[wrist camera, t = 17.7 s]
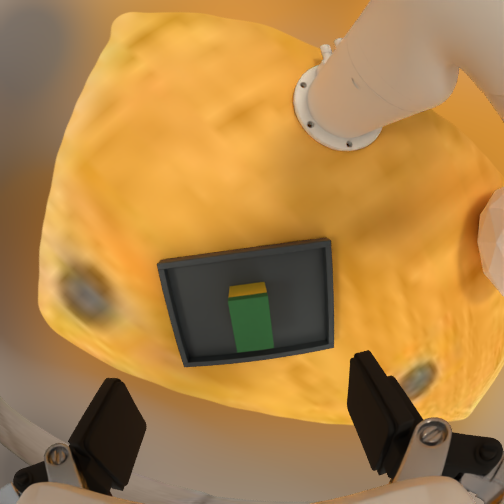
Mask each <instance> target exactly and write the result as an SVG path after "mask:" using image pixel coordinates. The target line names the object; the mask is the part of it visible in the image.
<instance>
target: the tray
mask: <svg viewBox="0 0 504 504" xmlns="http://www.w3.org/2000/svg"><path fill="white" fill-rule="evenodd" d="M157 267H158V272H159V276H160V281H161V285H162V289H163V293H164V297H165V301H166V305H167V309H168V313H169V317H170V321H171V324H172V328H173V332H174V335H175V339H176V342H177V345H178V349H179V352H180V355H181V359H182V362H183V365H184V367H196V366H211V365H222V364H233V363H242V362H251V361H259V360H266V359H273V358H280V357H286V356H292V355H298V354H304V353H309V352H315V351H320V350H325V349H330V348H334V294H333V268H332V251H331V240H329V239H328V238H326V237H325V238H317V239H310V240H302V241H295V242H287V243H280V244H272V245H265V246H258V247H250V248H243V249H236V250H228V251H221V252H214V253H207V254H199V255H192V256H185V257H178V258H171V259H164V260H161V261H160V262H159V263H157ZM259 282H265V286H266V290H267V294H268V300H269V309H270V317H271V325H272V334H273V342H274V348H270V349H263V350H256V351H248V352H239V353H237V348H236V343H235V338H234V333H233V327H232V322H231V316H230V311H229V305H228V297H229V288H230V286H236V285H244V284H251V283H259Z"/></svg>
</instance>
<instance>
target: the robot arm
mask: <svg viewBox="0 0 504 504" xmlns="http://www.w3.org/2000/svg"><path fill="white" fill-rule="evenodd" d="M334 44H335V47H336V49H335V50H334V52H333V53H332V51H331V47H330V45H321V46H320V49H321V53H322V55H323V60H322V62H321V63H320V65H317V66H314V67H313V68H311V69H309V70H308V71H306V72H305V73H304V74H303V75H302V77H301V78H300V79H299V81H298V83H297V85H296V87H295V91H294V97H293V104H294V109H295V113H296V116H297V118H298V120H299V122H300V124H301V125H302V127H303V128H304V130H305V131H306V132H307V133H308V134H309V135H310V136H311V137H312V138H313V139H315V140H316V141H317V142H319V143H320V144H322V145H324V146H326V147H329V148H331V149H334V150H339V151H353V150H358V149H361V148H364V147H366V146H367V145H369V144H371V143H372V142H373V141H374V140H375V139H376V138H377V137H378V135H379V134H380V132H381V130H382V127H383V126H386V125H388V124H391V123H393V122H396V121H398V120H401V119H404V118H406V117H409V116H412V115H414V114H417V113H420V112H423V111H426V110H428V109H431V108H434V107H436V106H438V105H440V104H442V103H443V102H444V101H445V100H447V99H448V98H449V96H450V95H451V94H452V92H453V90H454V88H455V85H456V83H457V78H458V74H459V68H461V69H462V70H463V71H464V72H465V73H466V74H467V75H468V76H469V77H470V78H471V80H472V81H473V82H474V83H475V84H476V85H477V87H478V88H479V89H480V90H481V91H482V92H483V93H484V94H485V96H486V97H487V99H488V100H489V101H490V103H491V104H492V106H493V107H494V109H495V110H496V111H497V113H498V114H499V116H500V117H501V119H502V120H503V122H504V0H370V2H369V3H368V5H367V6H366V8H365V9H364V10H363V12H362V13H361V15H360V16H359V18H358V19H357V21H356V22H355V23H354V24H353V26H352V27H351V28H350V30H349V31H348V32H347V34H346V35H345V36H344V38H338V39H336V40H334ZM301 86H303V87H304V88H302V87H301ZM308 124H310V125H311V127H308ZM346 143H347V144H348V145H349V146H348V147H347V145H346ZM347 408H348V411H349V414H350V416H351V419H352V421H353V423H354V426H355V428H356V431H357V433H358V436H359V438H360V440H361V443H362V445H363V448H364V450H365V453H366V455H367V458H368V461H369V463H370V466H371V468H372V470H374V471H375V470H377V472H378V474H379V475H382V474H384V473H387V475H388V477H389V478H391V480H390V482H389V484H387V485H383V486H380V487H377V488H373V489H370V490H366V491H362V492H359V493H355V494H352V495H348V496H344V497H340V498H335V499H331V500H326V501H321V502H316V503H311V504H476V503H475V501H474V500H473V498H472V497H471V495H470V494H469V493H468V491H471V492H473V493H475V494H476V497H478V498H480V499H481V500H483V501H484V504H504V451H503V448H502V445H501V443H500V442H499V441H498V440H496V439H494V438H489V437H481V436H473V435H465V434H459V433H453V432H452V429H451V426H450V425H449V423H448V422H447V421H445V420H443V419H441V418H427V419H425V420H423V419H422V417H421V416H420V414H419V413H418V411H417V410H416V408H415V407H414V405H413V404H412V402H411V401H410V399H409V398H408V396H407V395H406V393H405V392H404V390H403V389H402V387H401V386H400V384H399V383H398V382H397V380H396V379H395V378H394V377H393V376H388V377H387V376H386V374H385V373H384V371H383V370H382V368H381V367H380V365H379V364H378V362H377V361H376V359H375V358H374V356H373V355H372V353H371V352H370V351H369V350H367V351H364V352H360V353H356V354H355V355H354V358H351V359H350V373H349V387H348V398H347ZM145 431H146V422H145V420H144V419H143V417H142V415H141V414H140V412H139V410H138V408H137V407H136V405H135V403H134V401H133V399H132V397H131V395H130V393H129V392H128V390H127V388H126V386H125V384H124V383H123V382H121V380H120V379H117V378H106V379H105V381H104V382H103V384H102V385H101V387H100V388H99V390H98V392H97V393H96V395H95V396H94V398H93V400H92V402H91V403H90V405H89V407H88V408H87V410H86V411H85V413H84V415H83V416H82V418H81V420H80V421H79V423H78V425H77V427H76V428H75V430H74V432H73V434H72V435H71V437H70V439H69V441H68V442H69V443H70V445H69V447H68V446H67V445H65V444H63V443H57V444H54V445H51V446H50V447H49V448H48V449H47V450H46V452H45V454H44V461H43V462H40V463H37V464H35V465H32V466H29V467H26V468H23V469H21V470H19V471H18V472H17V473H16V474H15V476H14V479H13V482H14V484H13V483H12V482H10V483H8V484H7V485H5V486H4V487H2V488H1V489H0V504H143V503H138V502H133V501H128V500H124V499H120V498H116V497H113V496H112V494H111V492H110V489H111V488H113V489H117V490H121V491H123V489H124V486H126V485H127V484H128V482H129V479H130V476H131V473H132V469H133V466H134V463H135V460H136V457H137V454H138V452H139V449H140V446H141V443H142V440H143V437H144V434H145Z"/></svg>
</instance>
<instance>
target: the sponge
mask: <svg viewBox="0 0 504 504" xmlns="http://www.w3.org/2000/svg"><path fill="white" fill-rule="evenodd" d="M228 305H229V311H230V316H231V322H232V327H233V333H234V338H235V343H236V348H237V353H239V352H248V351H256V350H263V349H270V348H274V342H273V334H272V325H271V317H270V309H269V300H268V294H267V290H266V286H265V282H259V283H251V284H244V285H236V286H230V288H229V297H228Z"/></svg>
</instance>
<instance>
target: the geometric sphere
mask: <svg viewBox="0 0 504 504" xmlns="http://www.w3.org/2000/svg"><path fill="white" fill-rule="evenodd" d="M477 243H478V247H479V252H480V257H481V263H482V268H483V273H484V274H485V275H486V276H487V278H488V279H489V280H490V281H491V282H492V283H493V285H494V286H495V287H496V288H497V289H498V291H499V292H500V293H501V294H502V296H504V187H502V188H500V189H497V190H495V191H494V193H493V195H492V197H491V198H490V200H489V201H488V203H487V205H486V206H485V208H484V209H483V211H482V213H481V214H480V220H479V231H478V241H477Z"/></svg>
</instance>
